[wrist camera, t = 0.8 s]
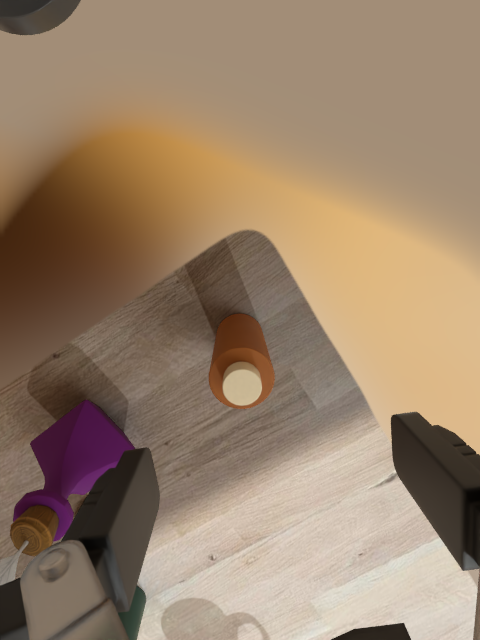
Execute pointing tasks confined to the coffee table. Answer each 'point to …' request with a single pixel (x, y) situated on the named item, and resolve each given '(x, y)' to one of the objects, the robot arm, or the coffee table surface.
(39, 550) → the perfume bottle
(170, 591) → the coffee table surface
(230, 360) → the amber bottle
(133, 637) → the green bottle
